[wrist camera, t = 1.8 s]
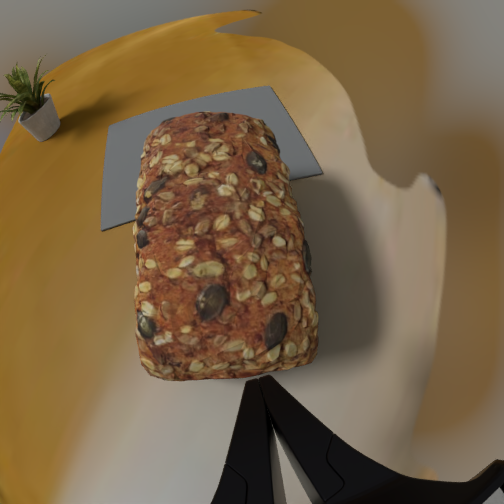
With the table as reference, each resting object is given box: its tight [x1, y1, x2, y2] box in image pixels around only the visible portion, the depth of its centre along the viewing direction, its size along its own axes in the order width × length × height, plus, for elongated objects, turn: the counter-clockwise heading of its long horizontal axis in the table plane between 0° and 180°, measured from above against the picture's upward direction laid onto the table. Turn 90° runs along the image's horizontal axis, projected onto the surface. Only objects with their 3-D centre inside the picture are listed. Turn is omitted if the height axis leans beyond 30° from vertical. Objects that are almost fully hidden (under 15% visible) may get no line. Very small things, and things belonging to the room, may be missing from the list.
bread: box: [133, 111, 318, 381], centre depth 19 cm, size 19×11×10 cm, turn 7°
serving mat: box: [101, 86, 322, 231], centre depth 30 cm, size 18×24×1 cm
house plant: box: [0, 61, 60, 142], centre depth 26 cm, size 14×14×16 cm
